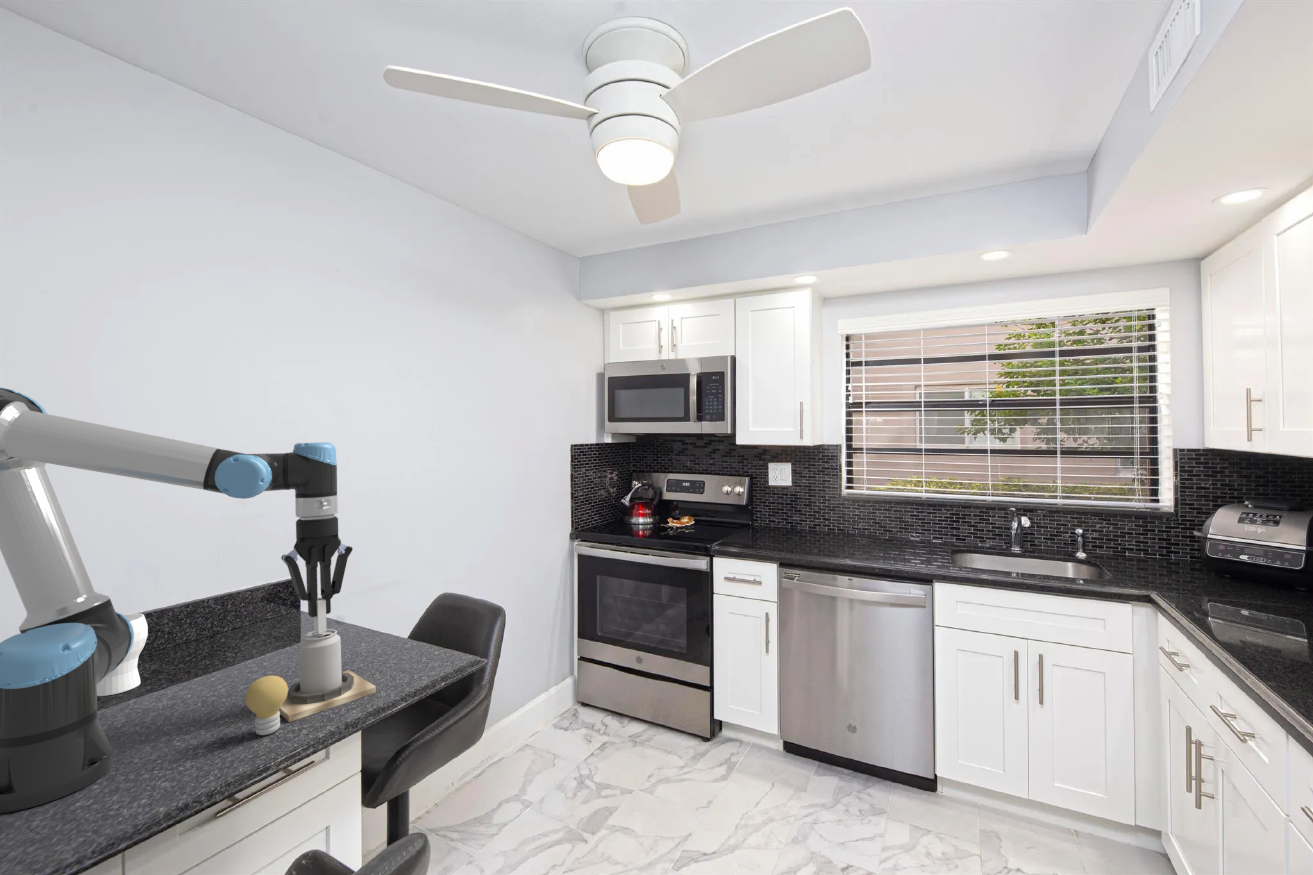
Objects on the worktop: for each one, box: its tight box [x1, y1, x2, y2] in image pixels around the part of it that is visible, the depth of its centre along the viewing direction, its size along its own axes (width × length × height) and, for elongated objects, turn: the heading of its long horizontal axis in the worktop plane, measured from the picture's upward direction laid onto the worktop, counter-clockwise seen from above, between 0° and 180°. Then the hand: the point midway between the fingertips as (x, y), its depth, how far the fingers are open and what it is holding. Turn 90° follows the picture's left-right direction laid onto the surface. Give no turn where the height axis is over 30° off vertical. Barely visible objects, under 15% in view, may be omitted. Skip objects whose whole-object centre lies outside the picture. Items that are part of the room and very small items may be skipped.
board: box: [278, 669, 377, 723], centre depth 119 cm, size 16×14×3 cm
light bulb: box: [245, 675, 289, 736], centre depth 105 cm, size 6×6×10 cm
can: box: [298, 628, 343, 694], centre depth 119 cm, size 8×8×12 cm
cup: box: [97, 612, 149, 697], centre depth 126 cm, size 11×11×15 cm
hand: (320, 630), depth 119 cm, fingers closed
